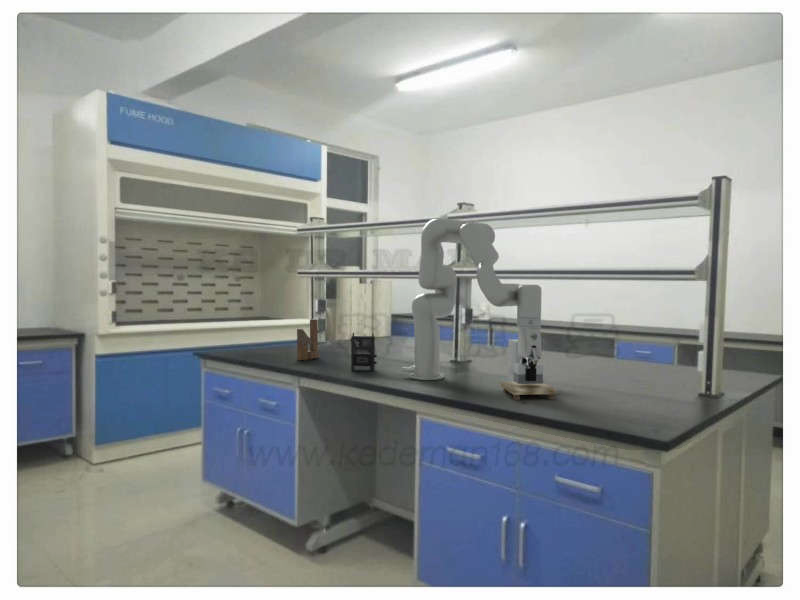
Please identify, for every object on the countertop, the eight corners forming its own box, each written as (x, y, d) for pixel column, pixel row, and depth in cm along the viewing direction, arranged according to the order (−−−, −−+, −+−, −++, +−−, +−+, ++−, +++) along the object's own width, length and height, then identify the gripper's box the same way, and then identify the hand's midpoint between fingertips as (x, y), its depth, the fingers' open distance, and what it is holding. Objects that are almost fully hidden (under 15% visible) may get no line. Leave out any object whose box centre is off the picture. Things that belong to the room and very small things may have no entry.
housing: (542, 383, 178) (543, 364, 178) (518, 383, 178) (518, 365, 177) (537, 380, 183) (537, 362, 183) (513, 380, 183) (513, 362, 182)
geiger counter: (377, 369, 228) (377, 332, 227) (375, 371, 224) (375, 333, 223) (352, 368, 229) (352, 332, 228) (349, 370, 225) (350, 333, 224)
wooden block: (296, 360, 251) (296, 320, 251) (313, 357, 260) (313, 318, 259) (302, 361, 249) (302, 320, 248) (319, 358, 258) (319, 319, 257)
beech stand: (513, 400, 173) (513, 390, 173) (500, 391, 187) (500, 382, 187) (557, 399, 174) (557, 390, 174) (541, 390, 188) (541, 381, 188)
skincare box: (515, 386, 196) (515, 341, 195) (506, 382, 202) (507, 339, 201) (536, 384, 198) (537, 341, 197) (527, 381, 204) (528, 338, 204)
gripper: (549, 325, 172) (548, 384, 172) (531, 320, 189) (530, 374, 189) (526, 325, 171) (525, 384, 172) (509, 320, 188) (508, 374, 189)
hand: (528, 378), depth 181 cm, fingers closed on housing, 5 cm apart
